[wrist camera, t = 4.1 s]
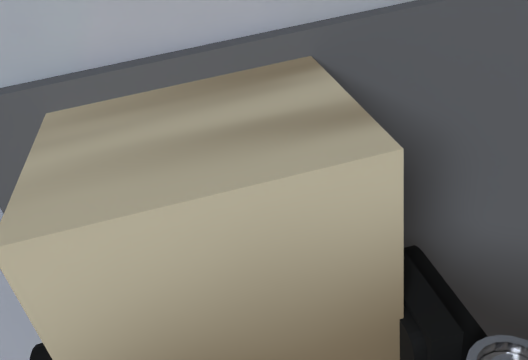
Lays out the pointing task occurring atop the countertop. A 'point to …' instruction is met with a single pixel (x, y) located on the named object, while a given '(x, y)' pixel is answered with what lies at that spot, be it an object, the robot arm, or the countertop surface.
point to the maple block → (212, 224)
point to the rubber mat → (388, 117)
